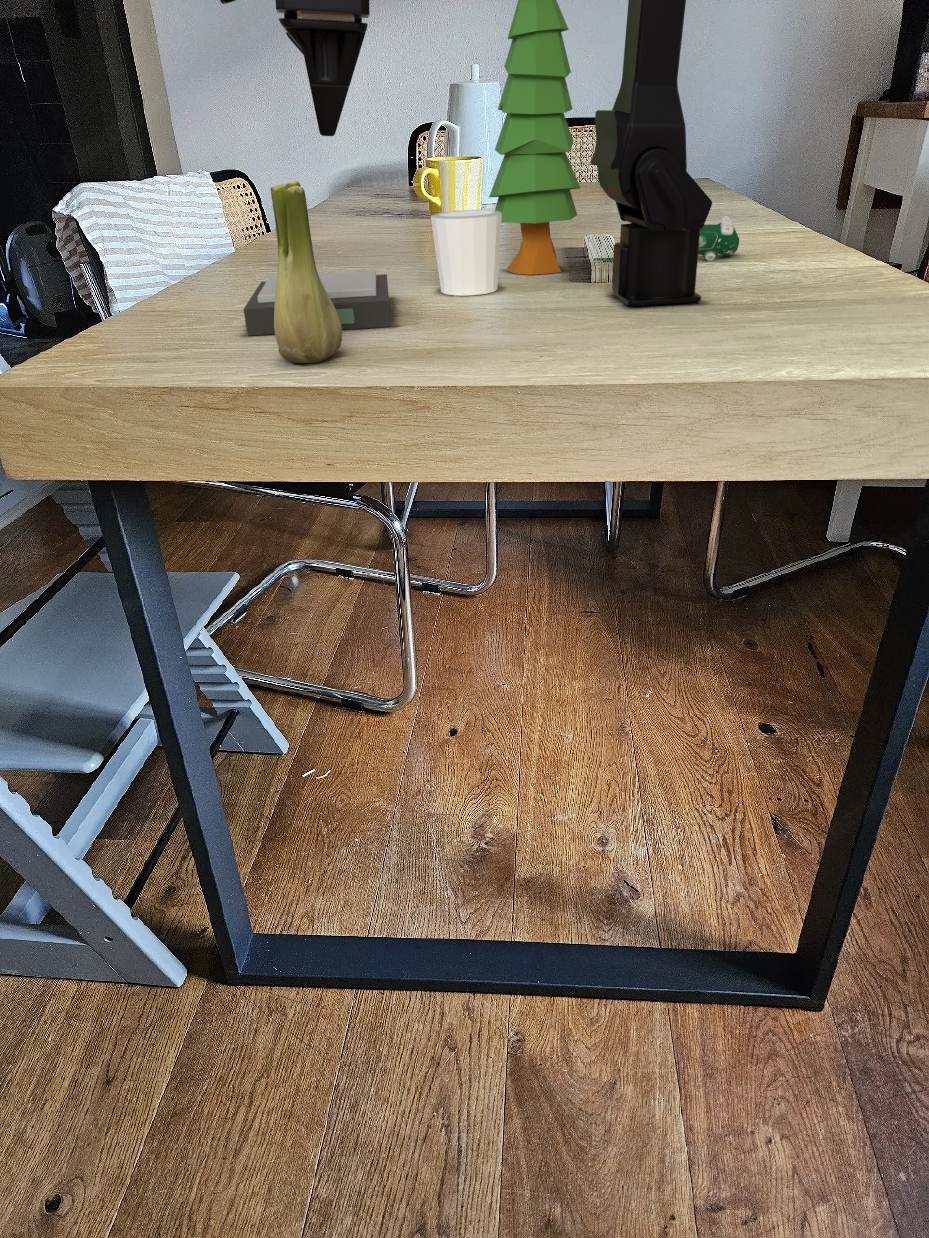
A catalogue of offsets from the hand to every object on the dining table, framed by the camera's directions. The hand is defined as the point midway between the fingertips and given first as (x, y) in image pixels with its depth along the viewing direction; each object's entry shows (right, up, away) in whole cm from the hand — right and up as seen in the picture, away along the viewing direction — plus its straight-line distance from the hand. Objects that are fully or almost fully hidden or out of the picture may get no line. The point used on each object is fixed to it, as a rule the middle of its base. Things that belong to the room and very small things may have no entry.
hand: (327, 134), depth 70 cm
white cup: (+11, -6, +18) cm, 22 cm away
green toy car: (+36, +1, +28) cm, 46 cm away
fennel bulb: (-1, -19, -4) cm, 19 cm away
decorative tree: (+18, 0, +27) cm, 33 cm away
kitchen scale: (-2, -11, +10) cm, 15 cm away
